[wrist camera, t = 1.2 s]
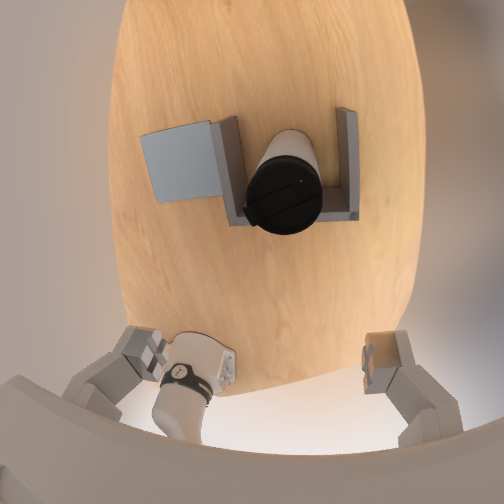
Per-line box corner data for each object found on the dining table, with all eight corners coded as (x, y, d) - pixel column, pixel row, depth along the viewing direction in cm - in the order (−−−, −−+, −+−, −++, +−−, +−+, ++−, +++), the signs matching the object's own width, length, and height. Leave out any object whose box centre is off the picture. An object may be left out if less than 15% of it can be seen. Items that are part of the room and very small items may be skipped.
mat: (223, 194, 43) (223, 195, 42) (158, 202, 45) (157, 203, 45) (209, 120, 37) (208, 120, 36) (141, 136, 39) (139, 136, 39)
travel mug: (260, 140, 37) (226, 186, 21) (301, 122, 35) (305, 150, 18) (279, 177, 40) (262, 249, 23) (320, 160, 37) (336, 223, 21)
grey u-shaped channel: (347, 194, 39) (358, 220, 32) (242, 199, 43) (229, 226, 35) (343, 107, 33) (356, 112, 25) (228, 117, 36) (209, 124, 29)
